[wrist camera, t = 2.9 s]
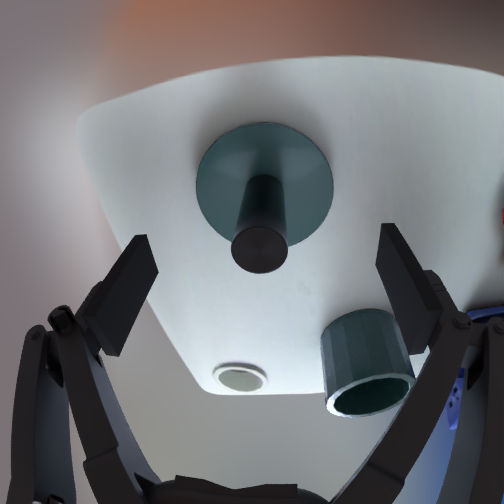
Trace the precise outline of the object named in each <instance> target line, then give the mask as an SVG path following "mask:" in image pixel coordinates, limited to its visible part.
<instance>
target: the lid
mask: <svg viewBox="0 0 504 504" xmlns="http://www.w3.org/2000/svg"><path fill="white" fill-rule="evenodd" d="M333 190H334V187H333V177H332V172H331V170H330V167H329V164H328V162H327V160H326V158H325V156H324V155H323V153H322V152H321V151H320V149H319V148H318V147H317V146H316V145H315V144H314V142H313V141H312V140H310V139H309V138H308V137H306V136H305V135H304V134H302V133H300V132H299V131H297V130H295V129H292V128H290V127H287V126H284V125H280V124H275V123H253V124H247V125H244V126H240V127H238V128H235V129H233V130H231V131H229V132H228V133H226V134H224V135H223V136H221V137H220V138H219V139H218V140H217V141H216V142H215V143H214V144H213V145H212V146H211V147H210V148H209V149H208V151H207V152H206V154H205V155H204V157H203V159H202V161H201V163H200V166H199V169H198V172H197V177H196V195H197V200H198V204H199V206H200V209H201V211H202V213H203V215H204V217H205V218H206V220H207V221H208V223H209V224H210V225H211V226H212V227H213V228H214V230H215V231H216V232H218V233H219V234H220V235H221V236H223V237H224V238H226V239H227V240H229V241H231V242H232V245H231V253H232V256H233V259H234V260H235V262H236V263H237V264H238V265H239V266H240V267H241V268H242V269H244V270H246V271H248V272H251V273H256V274H265V273H269V272H272V271H275V270H276V269H278V268H279V267H280V266H281V265H282V264H283V263H284V262H285V260H286V258H287V254H288V247H289V246H292V245H294V244H297V243H299V242H301V241H302V240H304V239H306V238H307V237H309V236H310V235H311V234H312V233H314V231H315V230H316V229H317V228H318V227H319V226H320V225H321V224H322V222H323V221H324V219H325V218H326V216H327V214H328V212H329V209H330V207H331V203H332V199H333Z"/></svg>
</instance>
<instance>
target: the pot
mask: <svg viewBox="0 0 504 504" xmlns="http://www.w3.org/2000/svg"><path fill="white" fill-rule="evenodd" d="M321 357H322V368H323V378H324V390H325V401H326V408H327V409H328V410H329V411H330V412H331V413H332V414H335V415H338V416H341V417H352V418H355V417H364V416H371V415H375V414H378V413H381V412H384V411H387V410H389V409H391V408H393V407H395V406H397V405H399V404H401V403H402V402H404V400H405V399H406V397H407V395H408V393H409V392H410V390H411V388H412V386H413V384H414V383H415V381H416V378H415V375H414V372H413V368H412V365H411V362H410V358H409V355H408V352H407V349H406V346H405V343H404V340H403V337H402V334H401V331H400V328H399V325H398V323H397V321H396V319H395V318H394V317H393V316H392V315H391V314H389V313H387V312H385V311H382V310H377V309H365V310H359V311H355V312H351V313H349V314H346V315H344V316H342V317H340V318H338V319H337V320H335V321H334V322H332V323H331V324H330V325H329V326H328V327H327V328H326V330H325V331H324V333H323V335H322V337H321Z"/></svg>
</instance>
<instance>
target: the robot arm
mask: <svg viewBox="0 0 504 504" xmlns="http://www.w3.org/2000/svg"><path fill="white" fill-rule="evenodd" d="M375 265H376V268H377V270H378V272H379V275H380V277H381V280H382V282H383V285H384V287H385V290H386V293H387V295H388V298H389V300H390V303H391V306H392V309H393V311H394V314H395V317H396V320H397V322H398V325H399V328H400V331H401V334H402V337H403V340H404V343H405V346H406V349H407V352H408V355H415V354H421V353H424V351H425V349H426V347H427V345H428V347H429V349H430V353H429V355H428V357H427V359H426V361H425V363H424V365H423V367H422V369H421V371H420V373H419V375H418V377H417V379H416V381H415V383H414V384H413V386H412V388H411V390H410V392H409V393H408V395H407V397H406V399H405V400H404V402H403V404H402V405H401V407H400V409H399V410H398V412H397V414H396V415H395V417H394V419H393V420H392V422H391V423H390V425H389V426H388V428H387V429H386V431H385V432H384V434H383V435H382V437H381V438H380V440H379V441H378V442H377V444H376V445H375V447H374V448H373V450H372V451H371V452H370V454H369V455H368V456H367V458H366V459H365V461H364V462H363V463H362V464H361V466H360V467H359V468H358V470H357V471H356V472H355V473H354V474H353V476H352V477H351V478H350V479H349V481H348V482H347V483H346V484H345V485H344V486H343V487H342V488H341V489H340V491H339V492H338V493H337V494H336V495H335V496H334V497H333V498H332V500H331V501H330V502H328V501H327V500H325V499H324V498H322V497H321V496H319V495H317V494H315V493H313V492H310V491H307V490H304V489H299V488H297V484H265V485H259V486H254V487H248V488H241V489H230V488H227V487H224V486H221V485H218V484H215V483H213V482H210V481H207V480H204V479H198V478H192V477H185V476H179V475H176V477H175V480H170V481H165V482H161V480H160V479H159V477H158V476H157V475H156V474H155V473H154V472H153V470H152V469H151V468H150V466H149V464H148V463H147V461H146V459H145V457H144V455H143V453H142V452H141V449H140V448H139V446H138V444H137V442H136V440H135V438H134V436H133V434H132V431H131V429H130V427H129V425H128V423H127V421H126V419H125V416H124V414H123V412H122V410H121V407H120V405H119V403H118V400H117V398H116V395H115V393H114V391H113V388H112V386H111V383H110V380H109V378H108V375H107V372H106V369H105V367H104V364H103V361H102V358H101V356H100V355H99V351H100V349H101V348H102V349H103V351H104V352H105V354H106V355H109V356H116V357H119V355H120V353H121V351H122V349H123V346H124V344H125V342H126V339H127V337H128V335H129V333H130V331H131V328H132V326H133V324H134V322H135V320H136V318H137V316H138V313H139V311H140V309H141V307H142V305H143V303H144V301H145V299H146V297H147V295H148V293H149V291H150V289H151V287H152V285H153V283H154V281H155V279H156V277H157V275H158V273H159V272H158V269H157V266H156V263H155V260H154V257H153V254H152V251H151V248H150V244H149V241H148V238H147V235H146V234H144V235H135V236H134V237H133V239H132V240H131V241H130V243H129V244H128V246H127V247H126V248H125V250H124V251H123V253H122V254H121V255H120V257H119V258H118V260H117V261H116V263H115V264H114V265H113V267H112V268H111V270H110V271H109V273H108V274H107V276H106V277H105V279H104V280H103V281H100V282H98V283H97V284H96V285H95V286H94V287H93V288H92V289H91V291H90V293H89V294H88V296H87V297H86V299H85V301H84V302H83V303H82V305H81V306H80V308H79V309H78V311H77V312H76V314H75V316H74V314H73V313H72V311H71V309H70V307H69V306H67V305H62V306H59V307H57V308H55V309H54V310H53V311H52V312H51V313H50V314H49V316H48V322H49V324H50V325H51V326H52V328H53V331H48V332H47V331H46V330H45V328H44V326H42V325H36V326H34V327H32V328H31V329H30V330H29V331H28V332H27V334H26V336H25V341H24V345H23V350H22V355H21V360H20V366H19V371H18V377H17V384H16V391H15V399H14V408H13V419H12V435H11V481H10V486H9V491H8V496H7V502H6V504H76V490H75V482H74V475H73V467H72V457H71V445H70V430H69V402H70V406H71V410H72V414H73V417H74V421H75V424H76V427H77V431H78V434H79V437H80V440H81V443H82V446H83V449H84V452H85V454H86V460H85V461H84V462H83V468H84V471H85V474H86V476H87V479H88V481H89V484H90V486H91V489H92V491H93V493H94V496H95V498H96V500H97V502H98V504H392V503H393V502H394V500H395V499H396V497H397V496H398V494H399V493H400V491H401V490H402V488H403V486H404V483H405V478H406V476H407V475H408V473H409V472H410V470H411V468H412V467H413V465H414V464H415V462H416V460H417V458H418V457H419V455H420V453H421V452H422V450H423V448H424V446H425V444H426V442H427V441H428V439H429V437H430V435H431V433H432V431H433V429H434V427H435V425H436V423H437V421H438V419H439V417H440V415H441V413H442V411H443V409H444V406H445V404H446V402H447V400H448V398H449V395H450V393H451V390H452V388H453V386H454V383H455V381H456V378H457V375H458V373H459V370H460V367H461V368H465V370H464V381H463V390H462V398H461V406H460V412H459V418H458V424H457V430H456V435H455V439H454V444H453V449H452V452H451V457H450V461H449V464H448V468H447V472H446V475H445V479H444V482H443V485H442V488H441V491H440V495H439V498H438V500H437V503H436V504H501V501H502V497H503V493H504V319H503V318H500V317H492V318H491V319H490V320H489V321H488V323H487V325H486V324H479V323H473V322H472V319H471V318H470V317H469V316H468V315H467V314H465V313H464V312H460V311H458V309H457V307H456V306H455V304H454V302H453V300H452V298H451V297H450V295H449V293H448V291H446V290H447V289H446V288H445V286H444V285H443V283H442V281H441V279H440V277H439V276H438V275H437V274H436V273H434V272H433V271H432V270H423V269H422V267H421V266H420V264H419V262H418V261H417V259H416V257H415V255H414V254H413V252H412V251H411V249H410V247H409V246H408V244H407V242H406V241H405V239H404V238H403V236H402V234H401V233H400V231H399V230H398V228H397V227H396V225H395V224H394V223H382V224H381V231H380V238H379V245H378V252H377V258H376V264H375Z"/></svg>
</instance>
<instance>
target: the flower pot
mask: <svg viewBox="0 0 504 504" xmlns="http://www.w3.org/2000/svg"><path fill="white" fill-rule="evenodd" d="M467 315H468V316H469V317H470V318H471V319H472V322H473V323H479V324H486V325H487V323H488V321H489V320H490V319H491V318H492V317H500V318H503V319H504V306H497V307H491V308H485V309H479V310H473V311H469V312H468V313H467ZM464 370H465V368H461V367H460V370H459V373H458V375H457V378H456V381H455V383H454V386H453V388H452V390H451V393H450V395H449V398H448V400H447V402H446V404H445V407H446V414H447V420H448V424H449V427H450V429H455V428H457V424H458V418H459V412H460V406H461V398H462V390H463V381H464Z"/></svg>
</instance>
